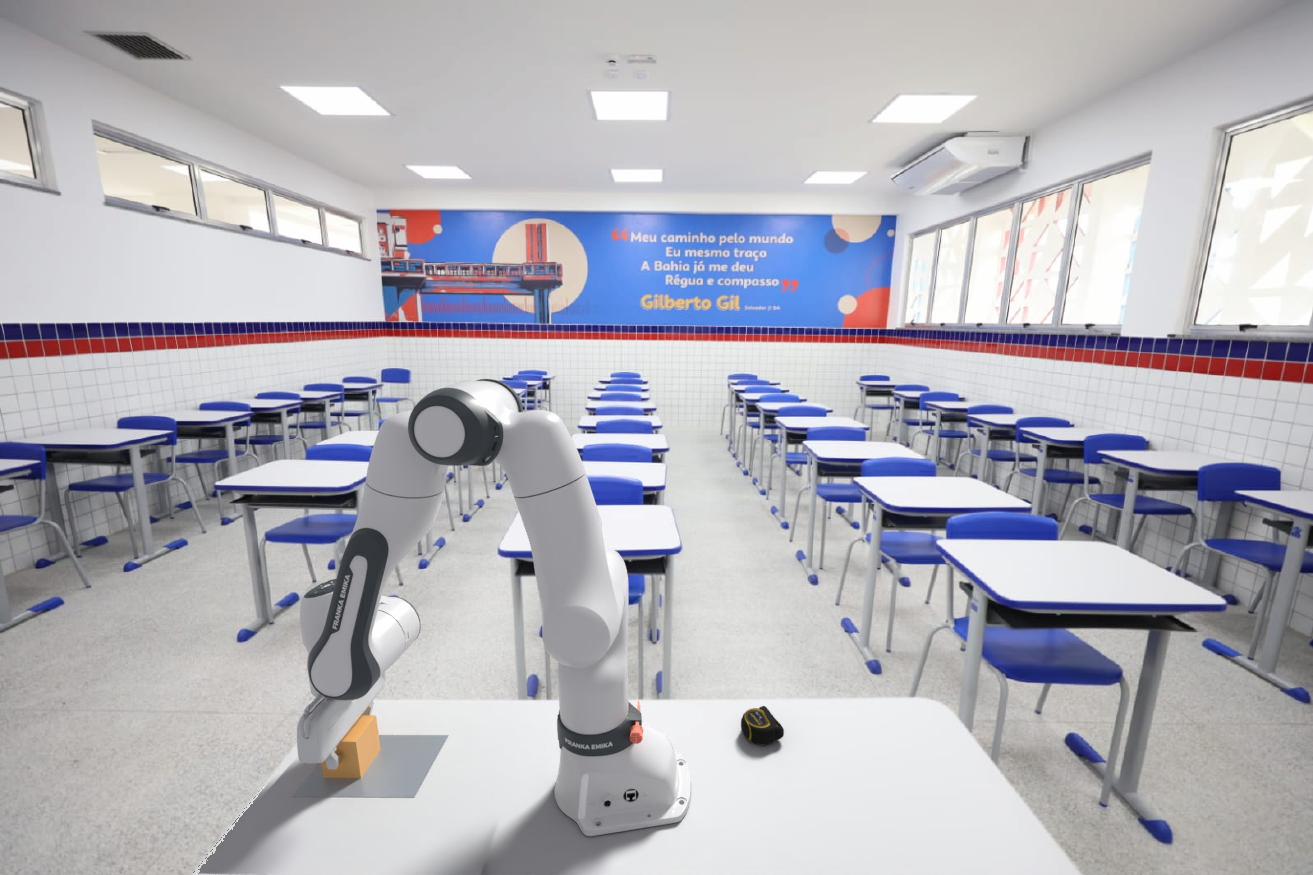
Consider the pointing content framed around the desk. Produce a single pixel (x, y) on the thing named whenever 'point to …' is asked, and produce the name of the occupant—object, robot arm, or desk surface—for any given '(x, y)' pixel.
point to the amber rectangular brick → (356, 749)
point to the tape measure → (761, 726)
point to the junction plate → (383, 770)
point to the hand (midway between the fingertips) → (350, 745)
